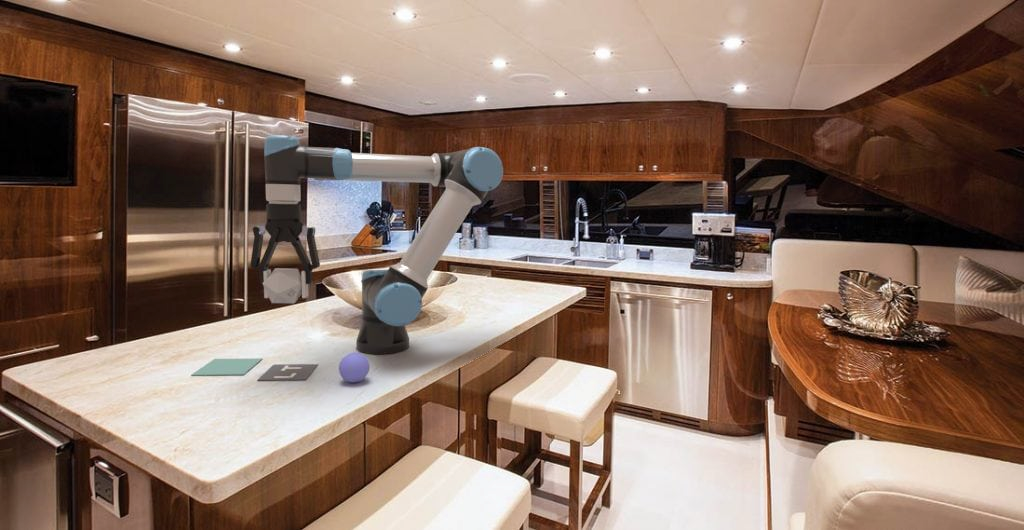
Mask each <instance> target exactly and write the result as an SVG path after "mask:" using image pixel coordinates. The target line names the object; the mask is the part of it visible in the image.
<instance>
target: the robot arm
mask: <svg viewBox="0 0 1024 530" xmlns="http://www.w3.org/2000/svg"><path fill="white" fill-rule="evenodd" d="M263 147H264V148H263V149H264V151H263V152H264V154H263V155H264V157H263V158H264V174H265V199H266V202H268V203H267V204H266V206H265V207H266V223H265V225H262V226H260V225H257V226H253V228H252V231H253V232H252V233H253V237H254V238H253V246H252V252H251V259H250V267H251V268H252V269H257V270H258V273H259V274H258V275H259V283H260V284H262V283H263V282H264V281H265V280H266V279H267V278H268V276H269V275H270V274H271V273H272V270H271V269H269V265H270V263H271V259H272V258H273V255H274V253H275V251H276V249H277V246H278V245H279V243H282V242H286V243H290V244H291V245H292V247H293V248H294V251H295V252H296V255H297V256H298V259H299V261H300V262H301V265H302V266H303V270H301V272H300V275H301V277H302V294H301V298H302V299H306V298H308V297H309V294H310V293H309V285H310V284H311V285H312V283H313V271H314V270H315V269H317V268H319V267H320V266H321V263H320V262H321V261H320V258H319V254H318V253H319V252H318V249H317V244H316V239H315V234H316V228H315V227H313V226H312V227H309V226H305V225H304V224H303V222H302V205H301V204H300V203H299V202H301V196H302V195H301V179H314V180H315V181H321V182H322V181H348V182H349V181H354V182H356V181H358V182H387V183H388V182H389V183H390V182H392V183H419V184H421V183H424V184H425V183H427V184H428V183H429V184H431V185H432V186H433V187H440V188H441V187H444V188H445V190H444V191H443V193H442V195H441V196H440V198H439V200H438V201H437V202H436V204H435V206H434V207H433V209H432V211H431V212H430V214H429V215H428V217H427V218H426V220H425V221H424V223H423V224H422V226H421V228H420V230H419V231H418V232H417V234H416V236H415V238H414V239H413V241H412V242H411V244H410V245H409V247H408V249H407V250H406V251H405V253H404V255H403V256H402V258H400V259H401V260H400V261H399V262H398V263H395V264H392V265H390V266H389V268H388V269H366V270H363V272H362V275H361V280H360V281H361V299H362V300H361V301H362V303H361V304H362V305H361V308H362V309H361V311H362V312H361V313H362V316H361V317H362V320H361V321H362V322H361V325H360V329H359V331H358V335H357V337H356V341H355V342H356V343H355V344H356V347H355V348H356V350H357V351H358V352H360V353H364V354H371V355H387V354H395V353H400V352H403V351H405V350H407V349H408V348H409V347H410V336H409V334H408V331H407V327H406V325H408V324H411V323H412V322H414V320H416V319H417V318H418V317H419V315H420V313H421V311H422V307H423V297H425V294H426V292H427V290H428V289H429V284H428V279H429V277H430V275H431V274H432V272H433V270H434V269H435V267H436V265H437V264H438V262H439V261H440V259H441V257H442V256H443V254H444V253H445V251H446V249H447V248H448V246H449V245H450V243H451V242H452V240H453V239H454V236H455V235H456V233H457V231H458V230H459V229H460V227H461V225H462V224H463V222H464V220H465V219H466V217H467V215H468V214H469V213H470V211H471V209H472V208H473V207H475V206H477V205H481V204H482V203H483V200H484V199H485V197H486V195H487V194H488V192H491V191H493V190H494V189H496V188H497V187H498V186H499V185H500V183H501V182H502V180H503V176H504V167H503V162H502V160H501V158H500V156H499V155H498V154H497V153H496V152H495V151H494V150H492V149H490V148H487V147H482V146H475V147H472V148H468V149H461V150H458V151H454V152H453V151H452V152H446V153H442V152H441V153H439V152H438V153H437V152H436V153H433V154H431V156H427V155H425V156H424V155H408V154H407V155H405V154H404V155H403V154H387V153H384V154H383V153H366V152H365V153H364V152H362V153H361V152H351V150H350V149H346V148H344V149H343V148H339V147H322V146H321V147H318V146H317V147H316V146H315V147H314V146H305V145H301V143H300V139H299V138H298V137H296V136H293V135H292V136H291V135H290V136H288V135H281V134H280V135H279V134H271V135H267V136H266V137H265V138H264V146H263ZM266 232H267V233H268V234H269V236H270V237H269V239H268V240H269V241H268V243H267V247H266V249H265V250H264V251H265V252H264V254H263V256H262V249H263V243H264V235H265V234H266ZM302 232H303V234H304V236H305V237H306V241H307V247H308V252H309V255H308V254H307V252H306V250H305V248H304V246H303V244H302V240H301V238H300V235H301V233H302ZM308 256H310V258H309V257H308ZM261 257H262V259H261ZM262 285H263V284H262ZM263 295H264V297H263V298H264V299H270V298H269V296H268V294H267V292H266V290H265V288H264V287H263Z"/></svg>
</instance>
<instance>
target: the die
mask: <svg viewBox="0 0 1024 530" xmlns="http://www.w3.org/2000/svg"><path fill="white" fill-rule="evenodd" d="M262 285H263V289H264V288H265V290H266V292H267V294H268V296H269V298H268V299H269V301H270V302H271V304H295V303H296V302H297V301H298V300H299V298H300V297H302V275H301V272H300V270H299V269H298V268H286V267H285V268H282V267H281V268H280V267H277V268H274V269H273V270H272V271H271V274H270V275H269V276H268V278H267V279H266V280H265V281H264V282H263V283H262Z"/></svg>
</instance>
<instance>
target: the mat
mask: <svg viewBox="0 0 1024 530" xmlns="http://www.w3.org/2000/svg"><path fill="white" fill-rule="evenodd" d="M262 360H263V358H261V357H260V358H214V359H212V360H210V361H209V362H208V363H206V364H205V365H204V366H202V367H200V368H199V369H198V370H196V371H195V372H193V373H191V375H190V376H191V377H193V376H194V377H204V376H205V377H210V376H211V377H215V376H216V377H218V376H220V377H221V376H224V377H225V376H231V377H232V376H245V375H246V374H248V373H249V372H250V371H251V370H252V369H253V368H254V367H255V366H257V365H258V364H259V363H260V362H262Z"/></svg>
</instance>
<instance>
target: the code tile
mask: <svg viewBox="0 0 1024 530" xmlns="http://www.w3.org/2000/svg"><path fill="white" fill-rule="evenodd" d="M317 367H318V363H310V364H309V363H305V364H304V363H301V364H300V363H299V364H297V363H296V364H294V363H293V364H292V363H289V364H288V363H287V364H285V363H284V364H275V363H274V364H272V365H271V366H270V367H269V368H268V369H267V370H266V371H265V372H264V373H263V374H262V375H260V376H259V378H257V379H256V381H257V382H283V381H285V382H286V381H289V382H291V381H292V382H293V381H297V382H299V381H300V382H302V381H305V382H306V381H307V379H308V378H309V377H310V376H311V374H312V373H313V372H314V370H316V368H317Z"/></svg>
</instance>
